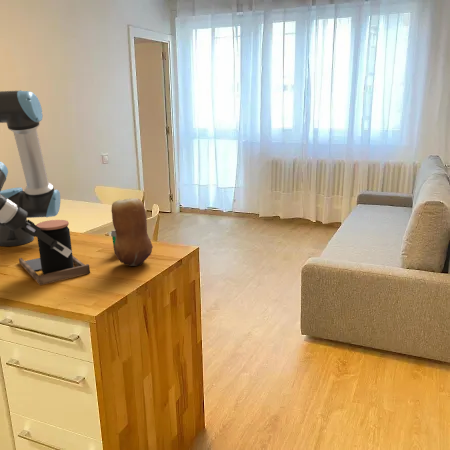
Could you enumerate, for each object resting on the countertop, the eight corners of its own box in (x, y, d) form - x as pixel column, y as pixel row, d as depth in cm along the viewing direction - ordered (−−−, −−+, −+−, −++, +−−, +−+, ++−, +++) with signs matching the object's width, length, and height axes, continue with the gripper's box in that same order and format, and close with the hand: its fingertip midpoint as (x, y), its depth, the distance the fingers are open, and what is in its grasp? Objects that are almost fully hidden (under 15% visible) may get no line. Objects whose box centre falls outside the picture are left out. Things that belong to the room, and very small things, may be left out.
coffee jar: (80, 268, 162) (74, 220, 157) (61, 279, 152) (55, 228, 147) (55, 265, 165) (49, 218, 160) (35, 276, 155) (28, 226, 150)
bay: (19, 263, 169) (18, 255, 168) (64, 253, 179) (63, 246, 178) (40, 285, 147) (38, 276, 146) (90, 273, 157) (89, 265, 156)
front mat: (23, 262, 169) (23, 261, 169) (62, 254, 178) (61, 253, 177) (32, 272, 159) (32, 270, 159) (72, 262, 167) (72, 261, 167)
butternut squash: (124, 257, 172) (119, 194, 165) (158, 259, 169) (153, 194, 163) (109, 270, 158) (102, 202, 152) (145, 272, 156) (140, 203, 149)
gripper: (-5, 217, 153) (47, 251, 166) (11, 231, 135) (68, 267, 148) (9, 200, 154) (59, 234, 168) (27, 211, 137) (82, 249, 150)
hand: (64, 250), depth 158 cm, fingers closed on coffee jar, 11 cm apart
